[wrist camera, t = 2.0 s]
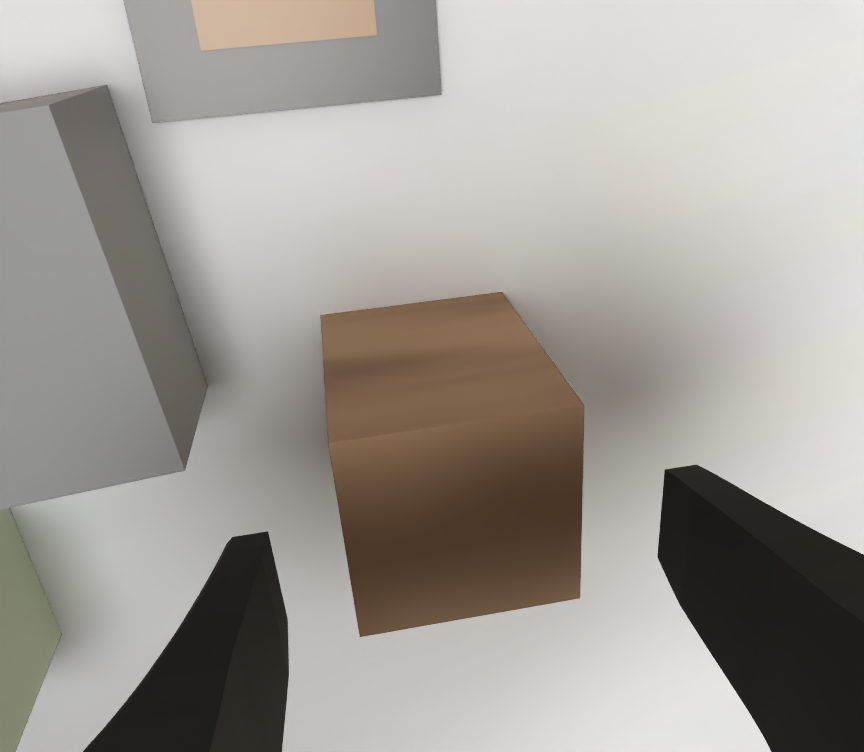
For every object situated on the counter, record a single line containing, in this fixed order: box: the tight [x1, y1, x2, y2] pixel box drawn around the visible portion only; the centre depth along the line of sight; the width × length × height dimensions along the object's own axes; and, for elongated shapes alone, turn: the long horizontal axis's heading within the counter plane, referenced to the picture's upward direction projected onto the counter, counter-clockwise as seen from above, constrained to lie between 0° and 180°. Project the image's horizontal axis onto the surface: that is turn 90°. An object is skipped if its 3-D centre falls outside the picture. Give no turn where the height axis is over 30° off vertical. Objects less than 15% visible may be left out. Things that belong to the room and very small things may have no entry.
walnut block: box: [321, 292, 584, 637], centre depth 16 cm, size 4×4×6 cm
